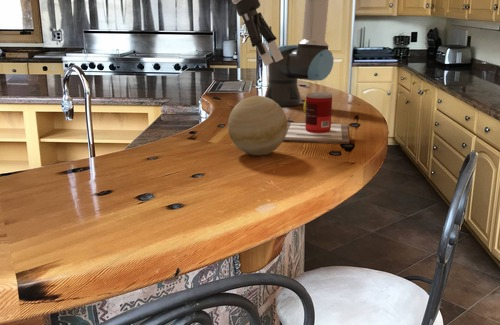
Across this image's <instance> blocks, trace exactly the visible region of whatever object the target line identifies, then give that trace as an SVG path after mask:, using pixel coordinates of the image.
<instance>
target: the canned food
mask: <svg viewBox="0 0 500 325" xmlns="http://www.w3.org/2000/svg"><path fill="white" fill-rule="evenodd" d="M305 100H306V115H305V122H304V123H305V128H306V131H308V132H313V133H325V132H329V131H330V129H331V123H332V114H333V113H332V111H333V110H332V109H333V108H332V107H333V94H332V93H330V92H329V93H328V92H309V93H306V96H305Z"/></svg>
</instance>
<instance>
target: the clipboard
mask: <svg viewBox="0 0 500 325" xmlns="http://www.w3.org/2000/svg"><path fill="white" fill-rule="evenodd" d="M348 128H349V127H348V123H336V122H335V123H332V122H331V129H330V131H329V132H325V133H313V132H308V131H306V128H305V122H303V121H302V122H300V121H299V122H297V121H287V133H286V136H285V138H284V140H283V142H285V143H310V144H313V143H314V144H335V143H339V144H341V145H350V137H349V129H348ZM283 142H282V143H283Z"/></svg>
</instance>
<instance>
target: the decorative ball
mask: <svg viewBox="0 0 500 325" xmlns="http://www.w3.org/2000/svg"><path fill="white" fill-rule="evenodd" d="M287 122H288V120H287V116H286V113H285V112H284V110H283V108H282V106H279V104H277V103H276V102H275V101H273V100H272V99H270V98H267V97H265V96H263V95H252V96H249V97H246V98H244V99H242V100H240V101H239V102H238V103H236V104H235V106H234V107H233V108H232V110H231V111H230V113H229V117H228V121H227V128H228V135H229V138H230V140H231V141H232V143H233V144H234V145H235V146H236V147H237V149H238V150H240V151H241V152H243V153H245V154H248V155H251V156H265V155H268V154H270V153H273V151H275V150H277V149H278V147H280V146H281V145H282V143H283V140H284V138H285V136H286V133H287Z"/></svg>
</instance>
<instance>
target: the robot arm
mask: <svg viewBox="0 0 500 325" xmlns="http://www.w3.org/2000/svg"><path fill="white" fill-rule="evenodd" d="M304 1H305V3H304V12H303V13H304V14H303V28H302V39H301V40H300V41H299V42H298V43H297V44H291V45H278V44H277V42H276V40H277V39H278V38H277V36H276V35H275V34H274V33H273V31H272V30H271V28H270V26H269V24H268V23H267V21H266V20H265V19H264V16H263V15H262V13H261V12H258V11H257V9H259V8H260V7H261V3H260V0H231V2H232V4H234V8H235V10H236V12H237V15H238V16H239V17H241V18H242V20H243V22H244V25H245V27H246V31H247V33H248V34H247V35H248V37H249V40H250V43H251V46H252V48H254V47H255V48H256V50H257V53H258V55H259V56H260V59H261V60H262V61H261V62H262V63H263V65H264V67H267V66H268V84H267V88H266V91H265V95H264V97H267V98H270V99H272V100H273V101H275V102H276V103H277V104H279V106H280V107H293V106H300V105H301V104H302V97H301V92H300V91H299V87H298V86H299V85H298V80H305V81H312V82H315V81H319V82H320V81H323V80H326V78H327V77H328V76H329V75H330V74H331V72H332V69H333V67H334V62H335V61H334V56H333V53H332V51H331V50H329V44H328V43H327V42H326V33H327V32H326V31H327V21H328V10H329V0H304ZM262 38H263V39H264V40H265V41H266V44H265V42H263V39H262ZM266 45H267V46H266ZM268 49H269V50H268Z"/></svg>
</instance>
